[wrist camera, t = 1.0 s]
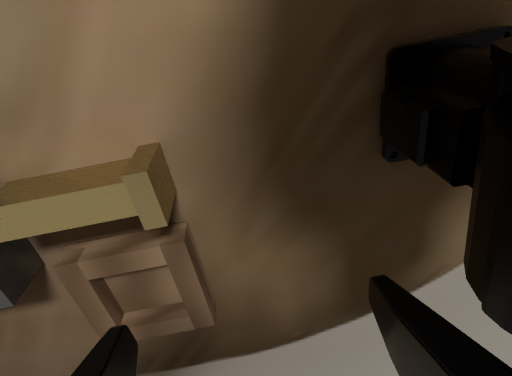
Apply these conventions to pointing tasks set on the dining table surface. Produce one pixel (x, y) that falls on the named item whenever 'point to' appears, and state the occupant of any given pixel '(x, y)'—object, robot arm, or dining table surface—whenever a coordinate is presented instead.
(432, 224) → the dining table surface
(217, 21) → the dining table surface
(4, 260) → the socket block
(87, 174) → the drift key
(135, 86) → the dining table surface
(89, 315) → the brown square frame
